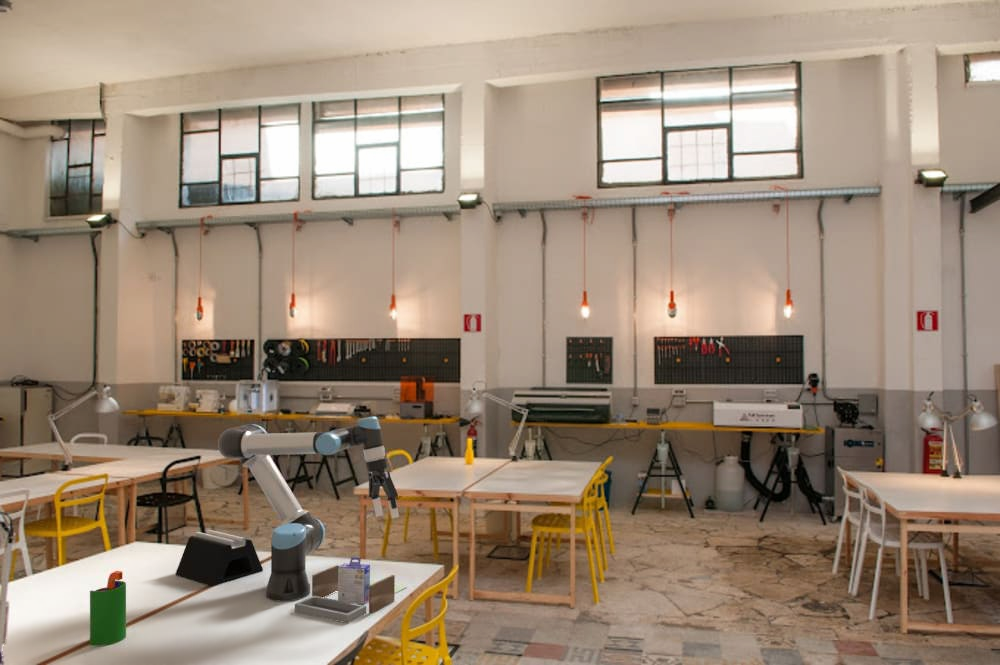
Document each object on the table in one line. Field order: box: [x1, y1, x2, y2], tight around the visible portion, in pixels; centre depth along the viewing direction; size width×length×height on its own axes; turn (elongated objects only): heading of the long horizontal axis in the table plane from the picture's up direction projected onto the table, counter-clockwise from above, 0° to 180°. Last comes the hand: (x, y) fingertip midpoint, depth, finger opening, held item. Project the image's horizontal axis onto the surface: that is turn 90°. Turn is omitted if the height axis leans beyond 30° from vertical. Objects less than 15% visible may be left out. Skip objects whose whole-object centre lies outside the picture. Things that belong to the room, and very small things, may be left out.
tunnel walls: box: [311, 564, 396, 615], centre depth 255 cm, size 25×13×9 cm, turn 63°
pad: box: [370, 580, 407, 595], centre depth 268 cm, size 16×12×1 cm
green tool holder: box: [89, 570, 127, 647], centre depth 222 cm, size 10×9×20 cm
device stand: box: [175, 529, 264, 587], centre depth 286 cm, size 22×22×15 cm
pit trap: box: [294, 595, 367, 624], centre depth 244 cm, size 22×9×2 cm, turn 63°
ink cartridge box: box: [337, 557, 371, 605], centre depth 255 cm, size 10×6×14 cm, turn 78°
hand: (387, 516), depth 270 cm, fingers open, 13 cm apart
